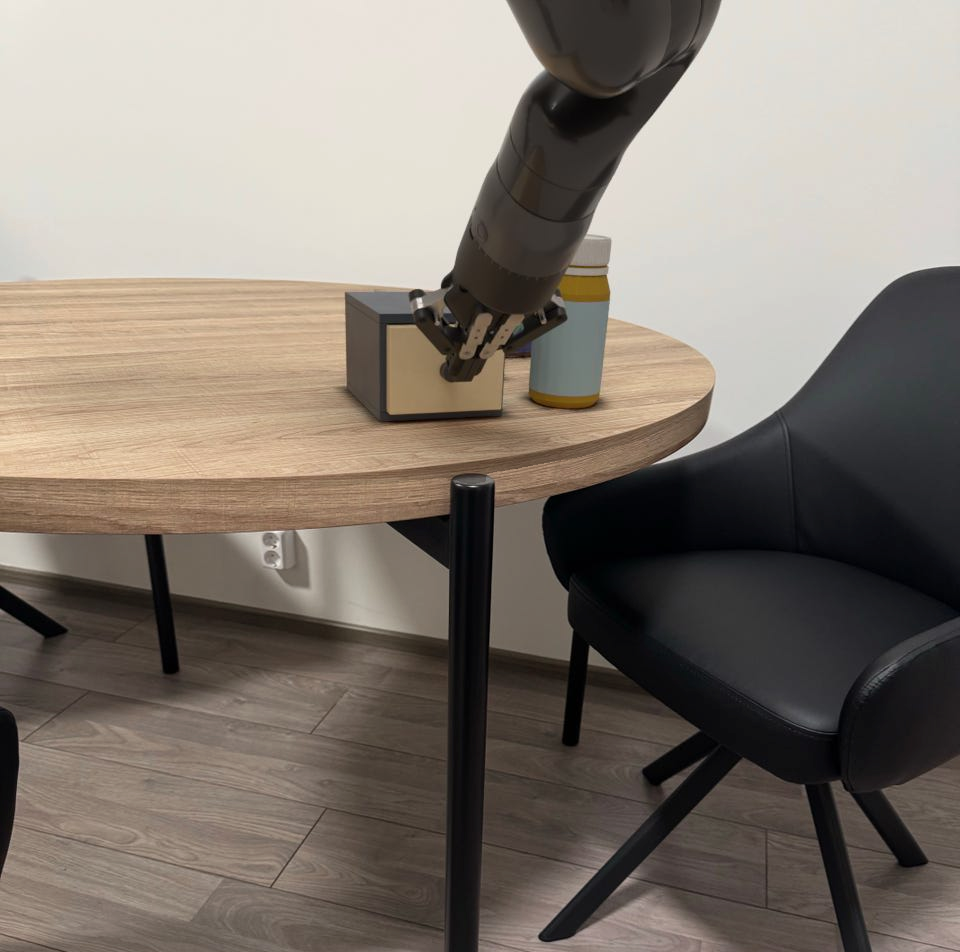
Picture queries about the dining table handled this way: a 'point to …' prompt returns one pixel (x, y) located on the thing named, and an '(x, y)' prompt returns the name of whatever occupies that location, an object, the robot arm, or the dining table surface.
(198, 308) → the dining table surface
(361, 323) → the cabinet
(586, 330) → the bottle
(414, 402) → the drawer
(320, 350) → the dining table surface
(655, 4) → the robot arm
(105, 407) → the dining table surface
